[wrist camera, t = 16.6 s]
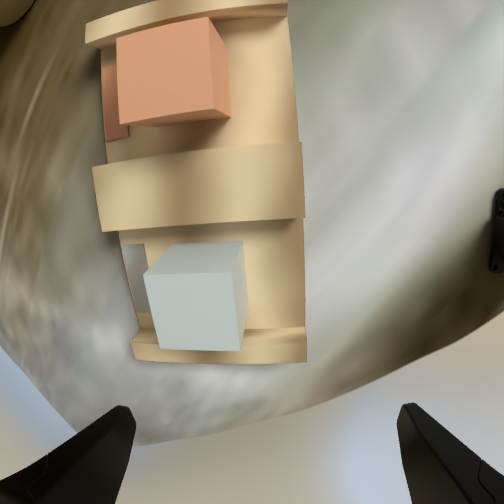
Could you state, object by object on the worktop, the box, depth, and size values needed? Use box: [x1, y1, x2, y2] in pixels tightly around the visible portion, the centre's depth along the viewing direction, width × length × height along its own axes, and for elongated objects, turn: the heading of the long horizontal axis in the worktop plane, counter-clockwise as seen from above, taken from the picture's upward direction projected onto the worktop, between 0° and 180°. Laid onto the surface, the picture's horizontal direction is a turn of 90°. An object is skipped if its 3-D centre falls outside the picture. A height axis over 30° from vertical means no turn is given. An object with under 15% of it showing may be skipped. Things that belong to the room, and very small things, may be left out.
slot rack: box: [85, 0, 307, 364], centre depth 18 cm, size 12×23×3 cm, turn 4°
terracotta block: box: [116, 17, 231, 127], centre depth 14 cm, size 4×4×5 cm
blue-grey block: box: [143, 240, 249, 351], centre depth 18 cm, size 4×4×5 cm
